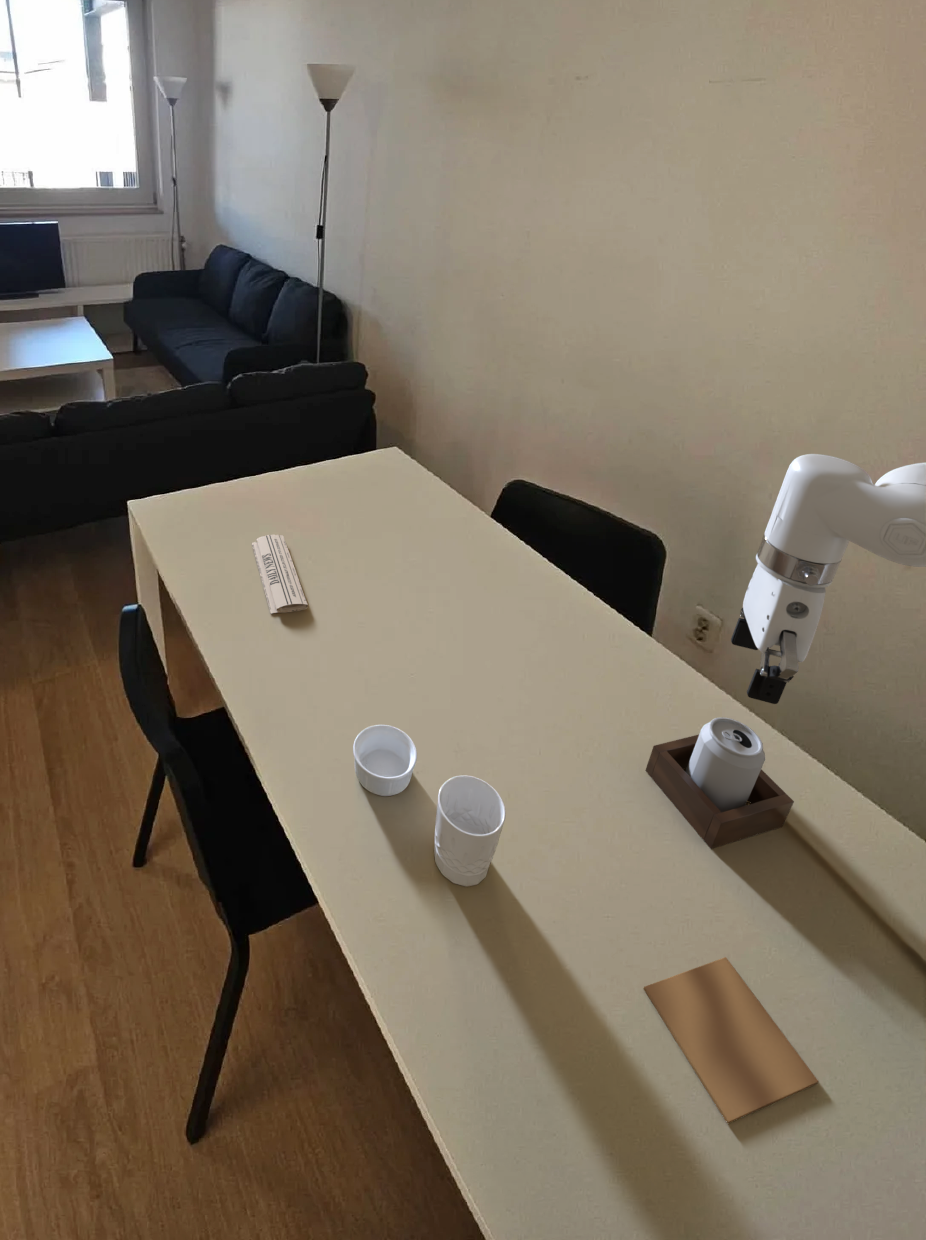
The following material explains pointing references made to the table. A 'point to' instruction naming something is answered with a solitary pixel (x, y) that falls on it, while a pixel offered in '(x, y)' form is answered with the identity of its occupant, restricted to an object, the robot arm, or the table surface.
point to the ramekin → (384, 759)
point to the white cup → (467, 829)
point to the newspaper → (278, 575)
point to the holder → (701, 811)
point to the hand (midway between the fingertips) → (752, 671)
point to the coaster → (729, 1039)
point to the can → (726, 762)
